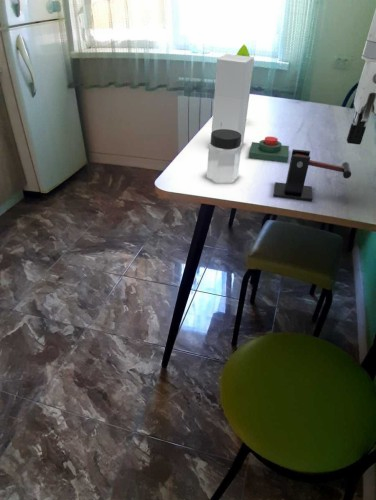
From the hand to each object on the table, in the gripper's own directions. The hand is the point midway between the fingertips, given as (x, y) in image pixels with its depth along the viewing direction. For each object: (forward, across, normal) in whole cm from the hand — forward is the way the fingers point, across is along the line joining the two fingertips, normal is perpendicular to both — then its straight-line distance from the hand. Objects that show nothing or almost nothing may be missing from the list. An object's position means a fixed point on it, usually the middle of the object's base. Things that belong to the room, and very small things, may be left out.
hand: (353, 142), depth 100 cm
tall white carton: (+15, +31, +33) cm, 48 cm away
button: (+11, +27, +19) cm, 35 cm away
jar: (+15, +5, +31) cm, 35 cm away
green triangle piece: (+15, +56, +33) cm, 67 cm away
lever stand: (+15, 0, +11) cm, 19 cm away
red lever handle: (+7, 0, +6) cm, 9 cm away
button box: (+15, +27, +19) cm, 37 cm away
